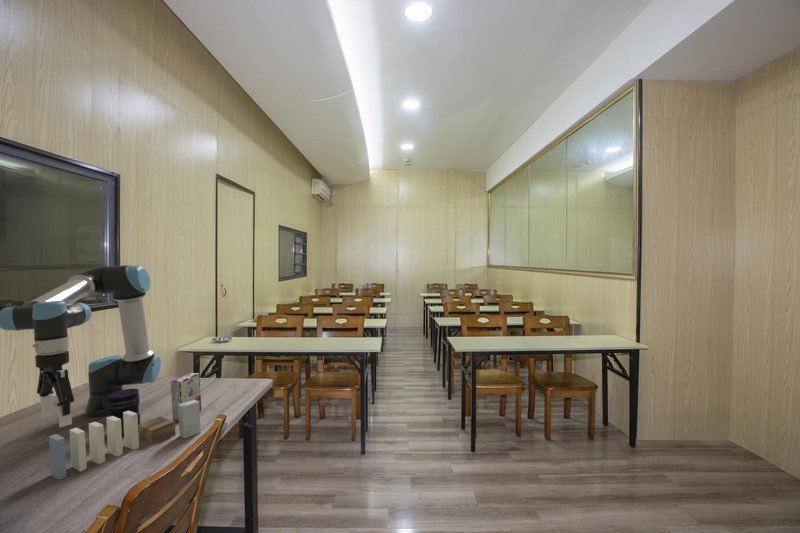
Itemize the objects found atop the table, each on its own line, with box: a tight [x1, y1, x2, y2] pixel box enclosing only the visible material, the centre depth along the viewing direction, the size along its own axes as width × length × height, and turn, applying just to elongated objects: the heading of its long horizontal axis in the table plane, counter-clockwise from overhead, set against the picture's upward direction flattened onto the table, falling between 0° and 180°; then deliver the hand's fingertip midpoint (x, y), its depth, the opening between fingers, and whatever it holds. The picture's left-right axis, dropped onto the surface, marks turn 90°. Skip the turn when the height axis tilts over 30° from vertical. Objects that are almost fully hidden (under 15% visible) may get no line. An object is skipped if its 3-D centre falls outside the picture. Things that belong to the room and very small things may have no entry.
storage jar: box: [108, 388, 141, 437], centre depth 145 cm, size 10×10×15 cm
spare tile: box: [48, 433, 67, 480], centre depth 115 cm, size 6×2×12 cm, turn 60°
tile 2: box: [88, 421, 106, 465], centre depth 124 cm, size 6×2×12 cm, turn 60°
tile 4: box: [123, 411, 140, 451], centre depth 132 cm, size 6×2×12 cm, turn 60°
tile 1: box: [69, 427, 87, 472], centre depth 120 cm, size 6×2×12 cm, turn 60°
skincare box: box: [178, 400, 201, 439], centre depth 140 cm, size 6×4×12 cm
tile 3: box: [106, 416, 124, 457], centre depth 128 cm, size 6×2×12 cm, turn 60°
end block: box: [138, 416, 176, 445], centre depth 140 cm, size 10×8×5 cm
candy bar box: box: [170, 372, 202, 422], centre depth 159 cm, size 11×5×16 cm, turn 168°
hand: (56, 420), depth 115 cm, fingers open, 13 cm apart
